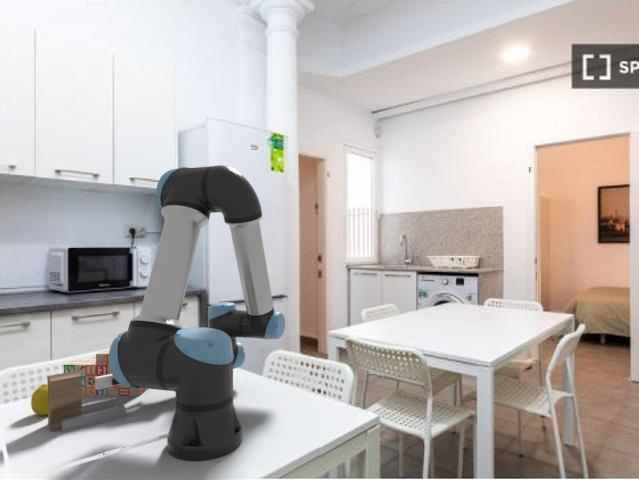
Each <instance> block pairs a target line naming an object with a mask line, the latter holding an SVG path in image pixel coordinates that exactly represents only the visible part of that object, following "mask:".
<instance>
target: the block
mask: <svg viewBox="0 0 639 480" xmlns="http://www.w3.org/2000/svg"><path fill="white" fill-rule="evenodd" d="M46 382H47V385H48V415H47V425H48V427H49V429H50V431H51V432H55V431H59V430H61V420H62V419H66V418H71V417H75V416H79V415H82V404H83V400H82V399H83V395H82V382H81V375H80V374H79V373H78V371H73V372H68V373H64V372H63V373H57V374H51V375H47V381H46Z"/></svg>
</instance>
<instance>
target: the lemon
mask: <svg viewBox="0 0 639 480" xmlns="http://www.w3.org/2000/svg"><path fill="white" fill-rule="evenodd" d="M32 393H33V394H32V395H31V399H30V406H31V409H32V411H33V413H34V414H36V415H38V416H40V417H43V416H48V383H43V384H42V385H41V386H39V387H38V388H36V389H35V390H34V391H33V392H32Z"/></svg>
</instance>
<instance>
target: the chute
mask: <svg viewBox="0 0 639 480" xmlns="http://www.w3.org/2000/svg"><path fill="white" fill-rule="evenodd" d="M124 417H126V406H125V405H124V404H122V405H118V399H117V397H116V396H112V397H108V398H104V399H98V400H95V401H90V402H87V403H82V415H79V416H75V417H71V418H66V419H62V420H61V429H60V430H61V432H62V433H65V432H70V431H73V430H76V429H81V428H85V427H89V426H93V425H96V424H100V423H105V422H108V421H113V420H115V419H116V420H117V419H120V418H124Z"/></svg>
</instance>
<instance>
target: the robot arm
mask: <svg viewBox="0 0 639 480" xmlns="http://www.w3.org/2000/svg"><path fill="white" fill-rule="evenodd" d="M156 185H157V186H156V188H155V189H156V190H155V195H156V196H157V199H156V203H157V205H158V207H159V209H160V213H161V216H162V217H163V219H164V223H163V227H162V231H161V234H160V238H159V243H158V246H157V249H156V253H155V257H154V260H153V264H152V267H151V271H150V274H149V279H148V283H147V286H146V289H145V294H144V298H143V301H142V304H141V308H140V312H139V314H138V315H137V316H135V317H134V318H132V319H130V322H129V324H128V325H129V326H128V328H127V330H125V331H123V332H121V333H119V334H118V335H117V337H114V339H113V340H112V343H111V345H110V347H109V348H110V350H109V357H108V361H109V368H110V371H111V372H112V374H108V375H103V376H98V377H95V389H96V390H99V389H103V388H108V387H113V386H117V385H125V386H131V387H133V388H138V389H141V388H146V389H148V390H158V391H166V392H169V391H170V392H175V411H174V414H173V417H172V421H171V424H170V428H169V429H168V430H169V431H168V434H167V439H166V440H167V443H166V444H167V445H166V447H167V451H168V453H169V454H170V455H171V456H173V457H174V458H177V459H180V460H181V459H182V460H184V461H185V460H187V461H203V460H211V459H215V458H218V457H221V456H224V455H226V454H229V453H231V452H233V451H234V450H236V449H237V448H238V447H239V446H240V445H241V444H242V441H243V428H242V425H241V420H240V418H239V416H238V413H237V410H236V408H235V404H234V369H238V368H241V367H242V366H243V364H244V363H245V359H246V352H245V348H244V346H243V343H241V342H239V341H237V338H243V339H244V338H247V339H248V338H249V339H262V340H278V339H280V338H282V337H283V335H284V332H285V329H286V317H285V316H284V313H282V312H281V311H277V310H275V307H274V302H273V296H272V289H271V285H270V284H271V283H270V278H269V271H268V267H267V266H268V265H267V261H266V259H267V258H266V255H265V254H266V253H265V249H264V248H265V247H264V242H263V236H262V230H261V224H260V221H261V219H262V218H263V212H262V211H263V210H262V205H261V203H260V200H259V197H258V195H257V192H256V191H255V189H254V188H253V186H252V185H251V183H250V181H249V180H248V179H247V177H245V176H244V175H243V174H242V173H240V172H239V171H238V170H236V169H235V168H234V167H233V168H232V167H231V166H227V165H222V164H221V165H220V164H219V165H211V166H210V165H209V166H198V167H187V166H186V167H185V166H182V167H178V168H173V169H169V170H167V171H166V172H164V173H163V174H162V175H161V177H160V178H159V180H158V182H157V184H156ZM211 213H212V214H213V213H221V214H222V216H223V221H224V223H225V224H226V225H228V226H229V229H230V234H231V240H232V245H233V250H234V254H235V259H236V264H237V270H238V271H237V272H238V274H239V275H238V276H239V280H240V285H241V289H242V295H243V299H244V305H245V310H241V309H237V307H236V304H235V303H234V302H229V301H221V302H220V301H219V302H218V301H217V302H214V303H211V304H210V306H209V307H208V308H209V310H208V327H205V326H204V327H203V326H202V327H196V326H194V327H193V326H192V327H190V326H189V327H185V328H183V325H182V324H181V322H180V317H181V312H182V308H183V305H184V300H185V296H186V293H187V287H188V283H189V278H190V274H191V270H192V266H193V262H194V258H195V253H196V250H197V245H198V240H199V236H200V231H201V229H202V228H204V227H206V226H207V225H208V224H209V220H210V217H211Z"/></svg>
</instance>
